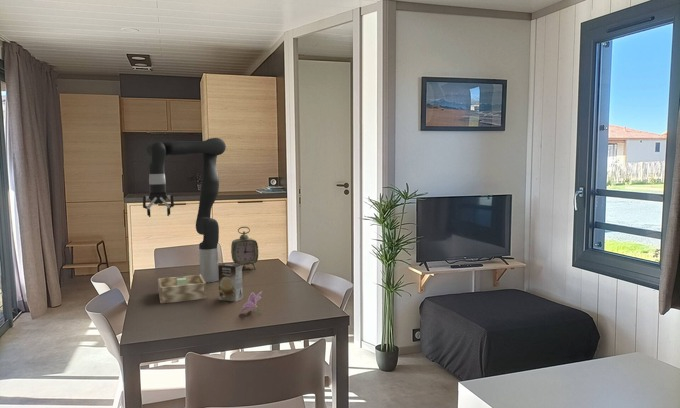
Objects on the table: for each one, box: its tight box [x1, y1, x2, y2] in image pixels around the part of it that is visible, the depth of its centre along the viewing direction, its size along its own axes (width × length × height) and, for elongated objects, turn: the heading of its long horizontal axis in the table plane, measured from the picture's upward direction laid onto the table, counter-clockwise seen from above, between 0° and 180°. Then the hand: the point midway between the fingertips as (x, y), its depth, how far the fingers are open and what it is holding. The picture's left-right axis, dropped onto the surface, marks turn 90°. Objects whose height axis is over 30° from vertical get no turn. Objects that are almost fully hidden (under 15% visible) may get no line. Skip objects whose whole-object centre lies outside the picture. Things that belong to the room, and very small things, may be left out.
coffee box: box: [218, 262, 243, 302], centre depth 230 cm, size 9×6×16 cm
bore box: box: [157, 274, 208, 304], centre depth 238 cm, size 20×20×7 cm
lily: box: [238, 290, 263, 315], centre depth 208 cm, size 12×12×10 cm
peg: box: [177, 278, 186, 286], centre depth 238 cm, size 4×4×8 cm
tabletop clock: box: [230, 226, 259, 270], centre depth 295 cm, size 14×9×25 cm, turn 111°
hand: (158, 216), depth 249 cm, fingers open, 8 cm apart
